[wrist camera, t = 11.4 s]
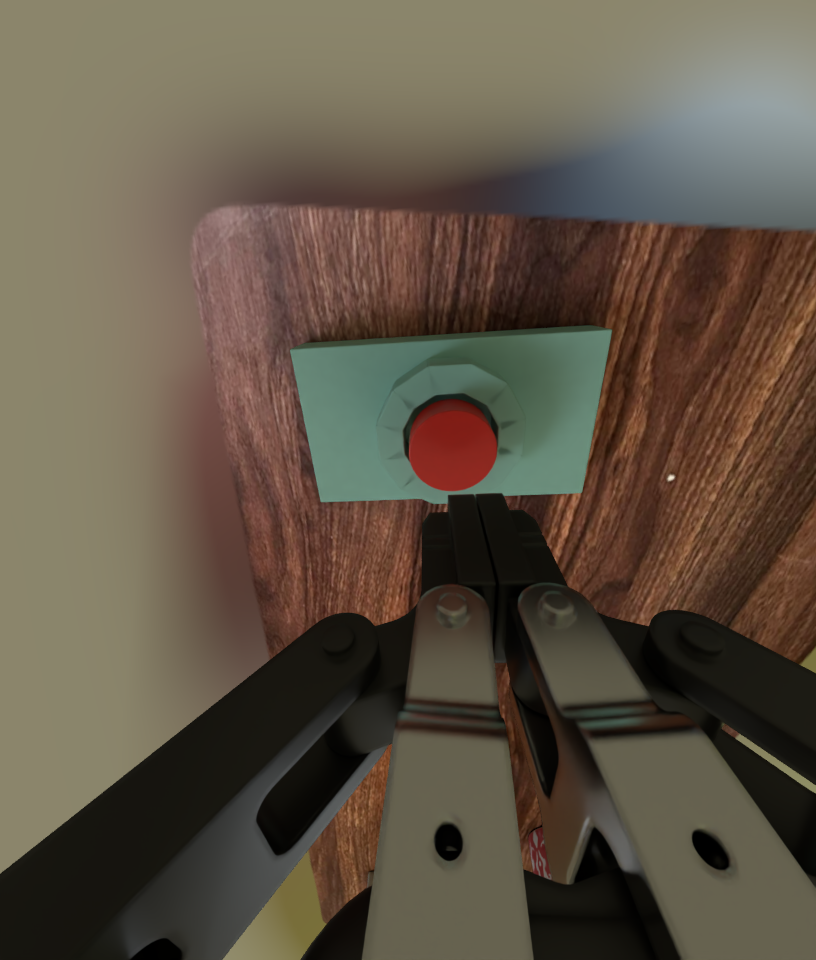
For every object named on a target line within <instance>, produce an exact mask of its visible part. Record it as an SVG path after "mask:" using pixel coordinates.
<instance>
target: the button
mask: <svg viewBox="0 0 816 960" xmlns="http://www.w3.org/2000/svg"><path fill="white" fill-rule="evenodd" d="M496 457H497V441H496V437H495V434H494V432H493V430H492V428H491V426H490V424H489V422H488V420H487V419H486V417H485V415H484V414H483V413H482V412H481V410H480V409H478V408H477V407H476V406H474V405H473V404H471V403H469V402H467V401H464V400H459V399H444V400H440V401H437V402H434V403H432V404H431V405H429V406H427V407H426V408H425V409H423V410H422V411H421V412H420V413H419V415H418V416H417V417H416V419H415V420H414V423H413V425H412V428H411V432H410V441H409V460H410V463H411V466H412V468H413V470H414V472H415V474H416V475H417V476H418V477H419V478H420V479H421V480H422V481H423V482H424V483H426V484H427V485H429V486H431V487H433V488H435V489H438V490H442V491H460V490H464V489H467V488H470V487H472V486H474V485H476V484H478V483H479V482H480V481H482V480H483V479H484V478H485V477H486V476H487V475H488V473H489V472H490V471H491V469H492V467H493V465H494V463H495V460H496Z"/></svg>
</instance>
